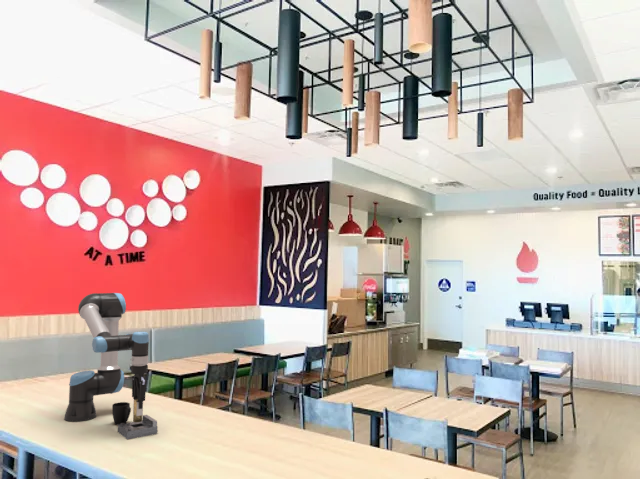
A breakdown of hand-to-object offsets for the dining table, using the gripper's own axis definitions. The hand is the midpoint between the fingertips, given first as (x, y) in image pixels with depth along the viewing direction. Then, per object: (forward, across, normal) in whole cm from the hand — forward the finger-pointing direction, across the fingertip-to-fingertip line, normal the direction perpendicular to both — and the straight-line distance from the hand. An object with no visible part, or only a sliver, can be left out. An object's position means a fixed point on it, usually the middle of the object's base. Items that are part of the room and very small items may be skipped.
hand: (137, 414), depth 246 cm
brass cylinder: (+3, 0, 0) cm, 3 cm away
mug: (+9, -19, -1) cm, 21 cm away
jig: (+9, 0, 0) cm, 9 cm away
